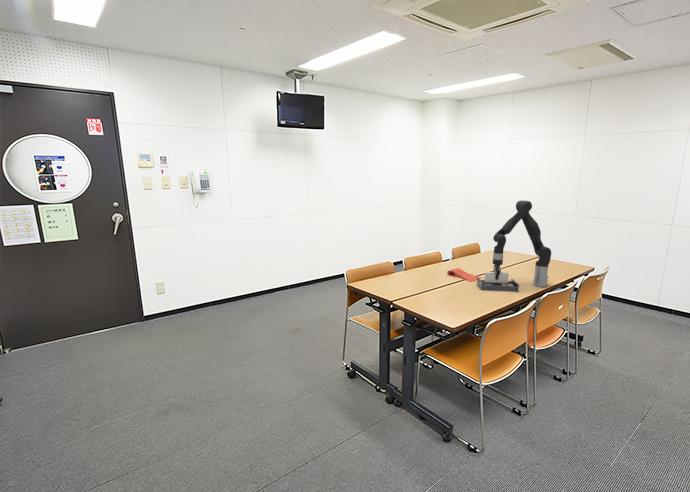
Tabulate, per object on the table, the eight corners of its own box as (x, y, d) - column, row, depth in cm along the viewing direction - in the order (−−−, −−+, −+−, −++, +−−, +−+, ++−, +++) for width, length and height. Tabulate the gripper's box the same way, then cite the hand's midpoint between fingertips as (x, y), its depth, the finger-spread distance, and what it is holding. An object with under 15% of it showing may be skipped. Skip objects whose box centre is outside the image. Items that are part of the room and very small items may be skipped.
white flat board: (506, 285, 286) (507, 272, 284) (507, 286, 284) (508, 273, 282) (483, 284, 289) (484, 271, 287) (484, 285, 287) (485, 272, 284)
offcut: (511, 286, 280) (512, 284, 279) (513, 288, 275) (513, 286, 275) (501, 286, 281) (501, 283, 281) (502, 287, 277) (502, 285, 276)
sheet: (443, 276, 317) (457, 271, 333) (472, 287, 296) (487, 281, 311) (443, 270, 316) (458, 266, 331) (474, 281, 294) (488, 276, 310)
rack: (511, 285, 288) (512, 278, 287) (518, 291, 273) (518, 284, 272) (476, 284, 292) (477, 277, 291) (481, 290, 277) (481, 282, 276)
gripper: (505, 260, 275) (503, 281, 278) (500, 256, 288) (498, 276, 292) (495, 260, 276) (493, 281, 279) (490, 256, 289) (489, 276, 293)
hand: (496, 278), depth 285 cm, fingers closed on white flat board, 2 cm apart
